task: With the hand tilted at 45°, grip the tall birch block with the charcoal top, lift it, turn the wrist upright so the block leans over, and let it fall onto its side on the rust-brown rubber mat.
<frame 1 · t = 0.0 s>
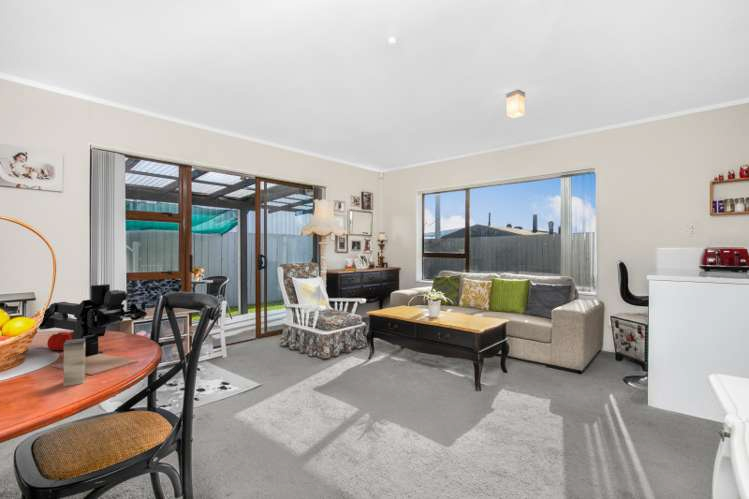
hand: (133, 316, 127), 17 cm above the table, fingers open, 9 cm apart
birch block: (74, 382, 109), on the table
tomato: (66, 349, 144), on the table
rubber mat: (96, 364, 126), on the table
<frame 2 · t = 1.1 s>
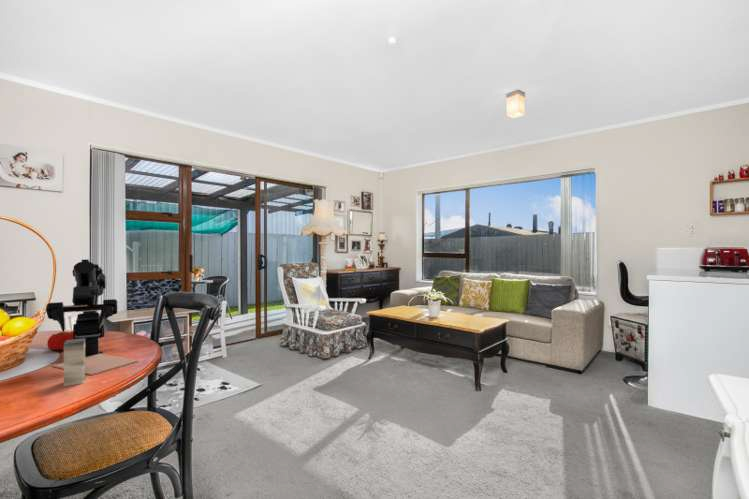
hand: (81, 329, 119), 14 cm above the table, fingers open, 9 cm apart
nothing on the table moved.
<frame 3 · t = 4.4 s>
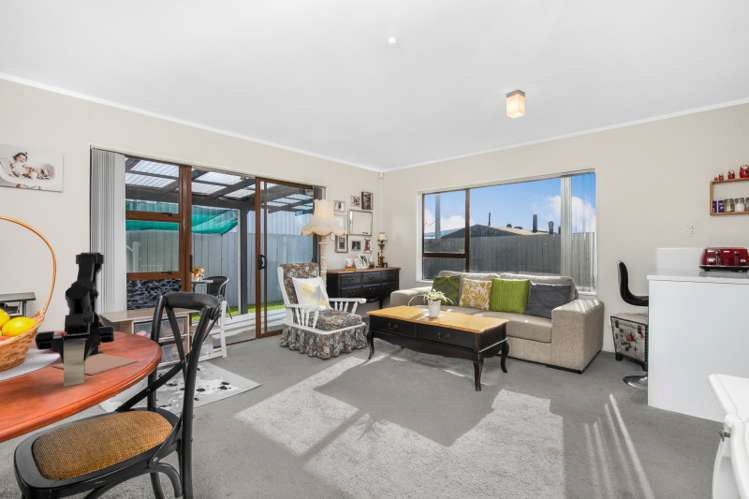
hand: (74, 361, 108), 7 cm above the table, fingers closed on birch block, 4 cm apart
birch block: (74, 382, 109), on the table, touching gripper
everything else where it was.
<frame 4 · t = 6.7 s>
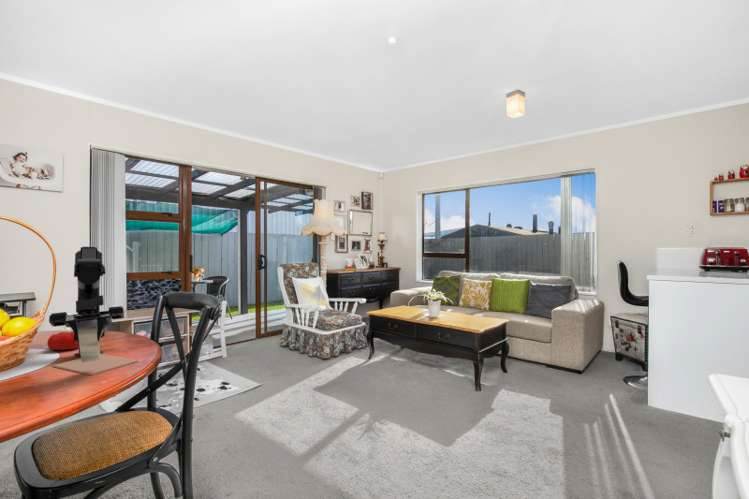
hand: (88, 342, 115), 11 cm above the table, fingers closed on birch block, 4 cm apart
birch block: (91, 357, 118), point 5 cm above the table, tilted 19°, touching gripper
everything else where it was.
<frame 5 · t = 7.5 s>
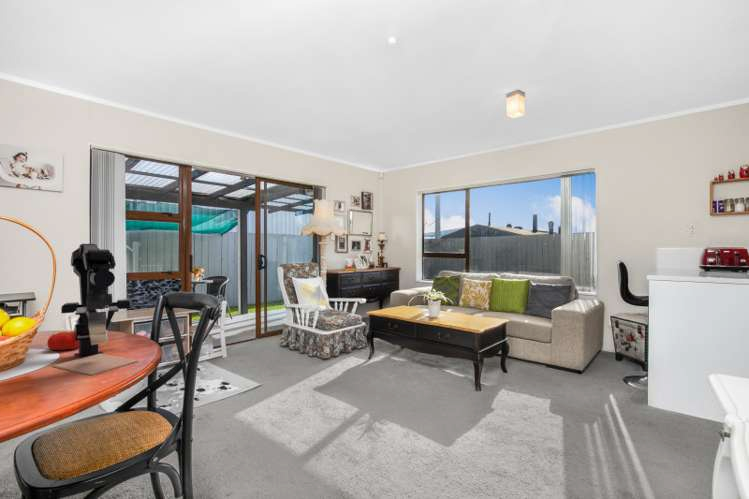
hand: (98, 330, 125), 12 cm above the table, fingers closed on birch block, 4 cm apart
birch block: (99, 338, 130), point 8 cm above the table, tilted 44°, touching gripper
everything else where it was.
when the fingers open (7 cm above the table, at t = 8.9 s): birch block moves 2 cm and tips over, resting on rubber mat.
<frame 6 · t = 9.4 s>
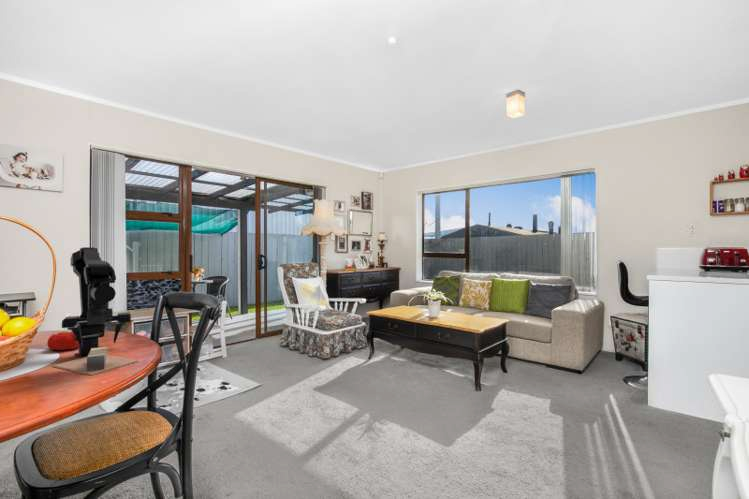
hand: (98, 344, 125), 7 cm above the table, fingers open, 9 cm apart
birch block: (99, 353, 129), point 3 cm above the table, tilted 90°, touching rubber mat
everything else where it was.
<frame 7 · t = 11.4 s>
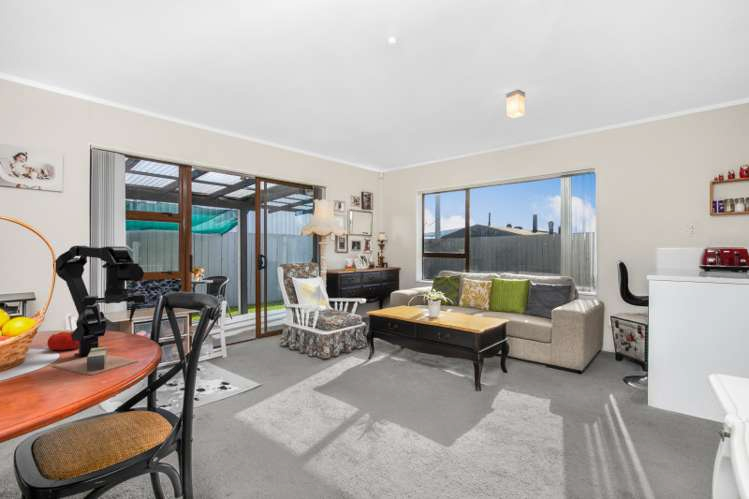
hand: (115, 323, 133), 13 cm above the table, fingers open, 9 cm apart
nothing on the table moved.
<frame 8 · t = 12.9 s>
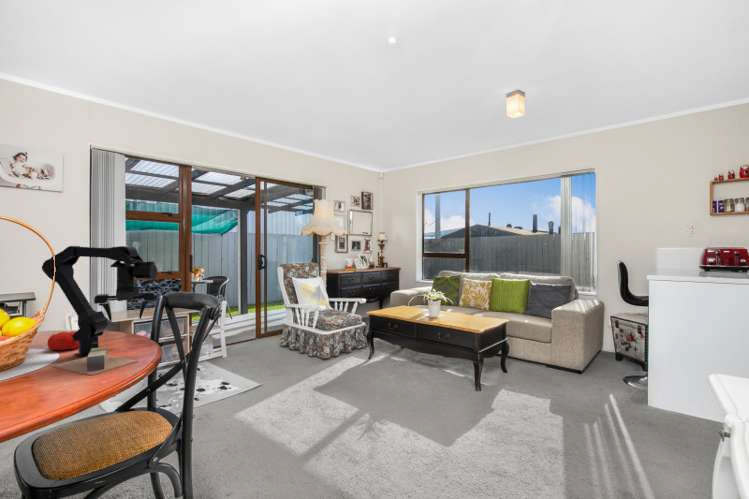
hand: (125, 319, 138), 13 cm above the table, fingers open, 9 cm apart
nothing on the table moved.
at the end: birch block tilted 90°; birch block inside the target area on the rubber mat (3.3 cm from its centre), point 2.7 cm above the rubber mat's base; the gripper is holding nothing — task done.
